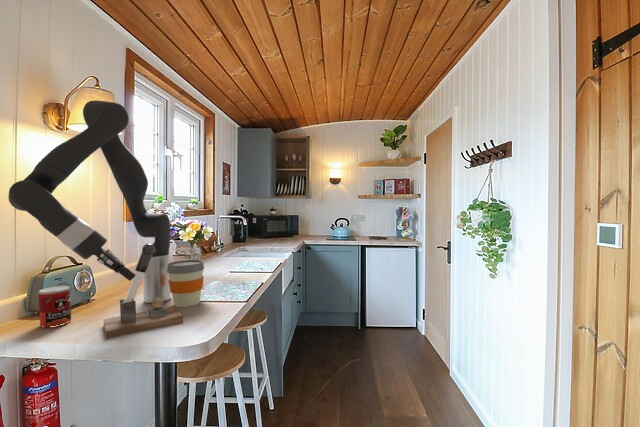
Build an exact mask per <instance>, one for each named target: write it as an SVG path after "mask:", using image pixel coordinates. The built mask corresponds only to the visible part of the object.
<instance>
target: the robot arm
mask: <svg viewBox="0 0 640 427" xmlns="http://www.w3.org/2000/svg"><path fill="white" fill-rule="evenodd" d="M82 110H83V111H82V117H83V120H84V122H85V124H86V126H87V128H86V129H84V130H83V131H81V132H80V133H79V134H76V135H75V136H73V137H71V138H69V139H67V140H66V141H64V142H61V143H60V144H58V145H57V146H56V147H54V148H53V149H52V150H50V151H49V152H48V153H47V154H46V155H45V156H44V157H43V158H42V159H41V160H40V161H39V162H37V164H36V165H35V166H34V168H33V170H32V172H31V173H29V174H28V175H27V176H26V177H25V178H24V179H23V180H19V181H17V182H16V181H15V183H13V184H12V185H11V186H10V188H9V190H8V202H9V204H10V205H11V206H12V207H13V208H14V209H16V210H18V211H21V212H22V211H23V212H27V213H28V214H29V215H31V216H32V217H33V218H34V219H35V220H37V221H38V223H39V224H40V225H41V227H43V229H44V230H46V231H48V232H49V233H50V234H51V235H53V236H54V237H56V238H57V239H58V240H59V241H60V242H61V243H62V244H63V245H64V246H66V247H67V248H69V249H70V251H72V252H74V254H77V256H79V257H80V258H82V259H83V260H88V259H89V258H92V256H95V257H97V259H96V262H98V263H99V264H101V265H104V267H107V268H108V269H109V270H113V271H114V273H116V274H119V275H121V276H122V277H124V278H125V279H126V280H127V281H132V280H133V278H134V277H135V273H134V272H133V271H131V270H130V269H129V268H127V266H126V265H125V264H124V263H123V262H122V261H121V260H120V258H119V257H117V256H116V255H115V254H114V252H113V251H111V249H109V248H107V250H105V249H104V248H103V246H104V245H105V244H106V243H107V242H108V240H107V238H106V237H104V236H103V235H102V234H101V233H100V232H98V230H96V229H94V227H92V226H90V225H89V223H86V222H85V221H84V220H82V219H81V218H79V217H78V216H77V215H76V214H74V213H73V212H72V211H70V210H69V209H68V208H66V207H64V205H63V204H62V203H61V202H60V201H59V200H58V199H57V198H56V197H55V196H54V195H53V193H54V191H56V189H57V187H59V185H61V184H62V183H63V182H64V181H66V180H67V179H68V178H69V177H70V175H72V173H73V172H75V170H76V169H77V168H78V167H79V166H80V165H81V164H83V162H85V161H86V160H87V158H89V157H90V156H91V155H92V154H94V153H95V152H96V151H97V150H98V149H101V152H102V154H103V156H104V158H105V160H106V163H107V165H108V167H109V168H110V170H111V173H112V176H113V177H114V179H115V182H116V184H117V186H118V189H120V192H121V194H122V196H123V199H124V201H125V203H126V206H127V207H128V210H129V214H130V217H131V219H132V222H133V225H134V228H135V231H136V232H137V234H138V235H139V236H140V237H142V238H154V242H153V243H151V244H152V245H154V247H155V252H154V253H153V254H152V257H151V260H150V262H149V265H148V268H147V270H146V273H144V275H143V277H142V283H143V290H142V291H143V302H144V303H146V304H150V303H151V304H152V301H153V300H154V299H156V298H160V299H162V300H163V302H166V301H169V300H170V299H171V297H172V294H171V292H170V287H169V281H168V280H169V274H168V273H167V268H168V264H169V263H170V247H171V221H170V217H169V216H168V214H166V213H163V212H155V213H153V212H152V213H151V212H148V211H147V209H146V207H145V204H144V201H145V196H146V194H147V190H148V186H149V181H148V177H147V175H146V172H145V170H144V168H143V165H142V164H141V162H140V161H139V159H138V158H137V157H136V156H135V154H133V153H132V152H131V150H130V149H128V147H127V146H126V144H125V143H124V141H122V138H121V137H120V135H119V134H120V133H122V131H123V132H124V130H125V129H126V128H127V126H128V124H129V123H130V122H129V121H130V116H129V112H128V111H127V108H126V107H125V106H123V105H122V104H120V103H117V102H114V101H106V100H97V99H96V100H95V99H94V100H90V101H88V102H86V103H85V104H84V106H83V108H82Z"/></svg>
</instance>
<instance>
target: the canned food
mask: <svg viewBox="0 0 640 427" xmlns="http://www.w3.org/2000/svg"><path fill="white" fill-rule="evenodd" d="M71 305H72V304H71V288H70V286H69V285H58V286H49V287H46V288H43V289H42V288H41V289H40V290H38V307H39V308H38V309H39V310H38V311H39V325H40V327H41V326H44V327H50V326H56V325H60V324H63V323H66V322H68V321H70V320H72V308H71V307H72V306H71ZM70 322H71V321H70Z"/></svg>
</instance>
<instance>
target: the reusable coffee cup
mask: <svg viewBox="0 0 640 427" xmlns="http://www.w3.org/2000/svg"><path fill="white" fill-rule="evenodd" d="M204 270H205V266H204V261H203V260H201V259H184V260H177V261H173V262H172V261H171V262H169V264H168V268H167V273H168V274H169V280H168V281H169V287H170V294H171V297H172V302H173V306H174V307H175V308H177V307H178V308H187V307H192V306H196V305H198V304H200V302H201V296H202V290H203V286H204V285H203V284H204V275H203V273H204Z"/></svg>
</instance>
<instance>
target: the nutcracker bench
mask: <svg viewBox="0 0 640 427" xmlns="http://www.w3.org/2000/svg"><path fill="white" fill-rule="evenodd" d="M124 299H125V298H123V299H119V310H120V312H119V314H120V315H119V316H114V317H110V318H104V319H103V329H104V335H105V336H106V337H105V339H106V338H107V339H110V338H109V337H112V338H115V337H114V336H116V337H121V336H124V335H130V334H134V333H139V332H144V331H149V330H154V329H157V328H162V327H163V328H164V327H167V326H172V325H176V324H181V323H183V322H184V316H183V314H182V313H181V312H180V310H178V309H177V307H176V306H174V305H173V306H167V307H166V306H165V305H164V301H163V300H162V299H160V298H156V299H154V300H153V301H152V303H151V307H149V308H148V310H147V311H142V312H137V306H136V305H137V304H136V303H137V302H136V300H134V301H130V302H124V303H122V301H123V300H124ZM120 335H121V336H120Z"/></svg>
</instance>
